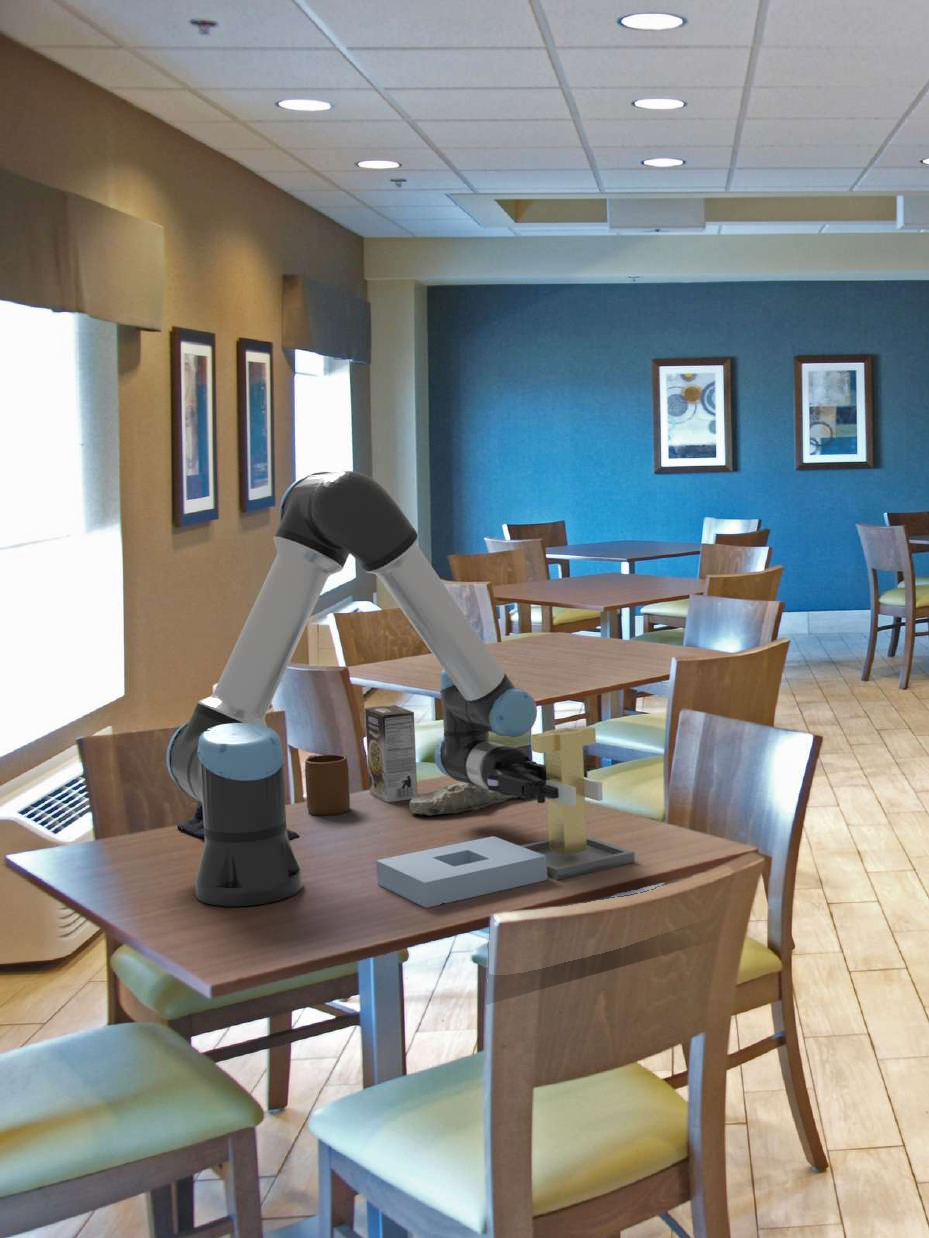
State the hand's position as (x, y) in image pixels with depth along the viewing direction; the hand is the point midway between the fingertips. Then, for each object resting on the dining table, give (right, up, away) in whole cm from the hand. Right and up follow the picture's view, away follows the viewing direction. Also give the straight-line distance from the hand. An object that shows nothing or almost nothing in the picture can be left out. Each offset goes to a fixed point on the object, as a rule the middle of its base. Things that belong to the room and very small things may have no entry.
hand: (587, 793), depth 200 cm
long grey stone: (-12, -7, +47) cm, 49 cm away
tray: (-2, -11, +6) cm, 12 cm away
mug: (-43, -9, +45) cm, 63 cm away
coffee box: (-31, -7, +53) cm, 61 cm away
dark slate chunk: (-56, -11, +32) cm, 65 cm away
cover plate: (-18, -12, -3) cm, 22 cm away
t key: (-2, -9, +6) cm, 11 cm away
